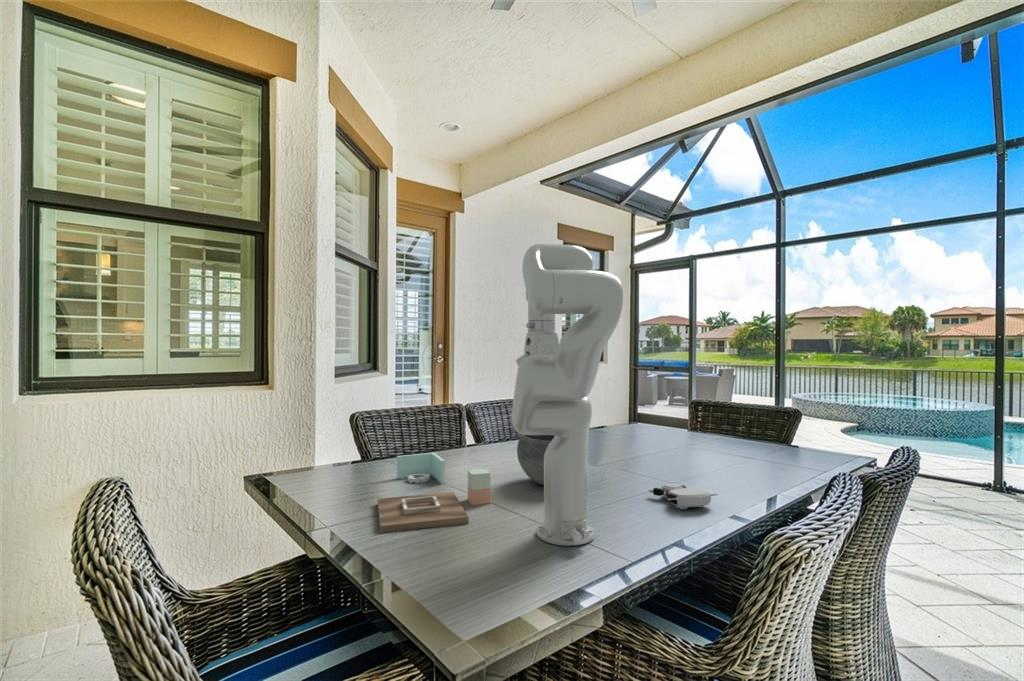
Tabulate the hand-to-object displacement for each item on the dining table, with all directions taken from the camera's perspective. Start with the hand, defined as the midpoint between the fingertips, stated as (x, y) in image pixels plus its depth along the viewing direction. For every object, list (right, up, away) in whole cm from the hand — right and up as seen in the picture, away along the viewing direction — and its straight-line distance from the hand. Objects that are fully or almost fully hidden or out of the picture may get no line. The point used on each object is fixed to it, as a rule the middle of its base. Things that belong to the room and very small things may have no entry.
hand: (541, 389), depth 134 cm
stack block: (-17, -30, -5) cm, 35 cm away
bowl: (+4, -30, +12) cm, 32 cm away
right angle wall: (-36, -31, +14) cm, 49 cm away
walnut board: (-31, -29, -15) cm, 45 cm away
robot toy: (+37, -30, -7) cm, 48 cm away
